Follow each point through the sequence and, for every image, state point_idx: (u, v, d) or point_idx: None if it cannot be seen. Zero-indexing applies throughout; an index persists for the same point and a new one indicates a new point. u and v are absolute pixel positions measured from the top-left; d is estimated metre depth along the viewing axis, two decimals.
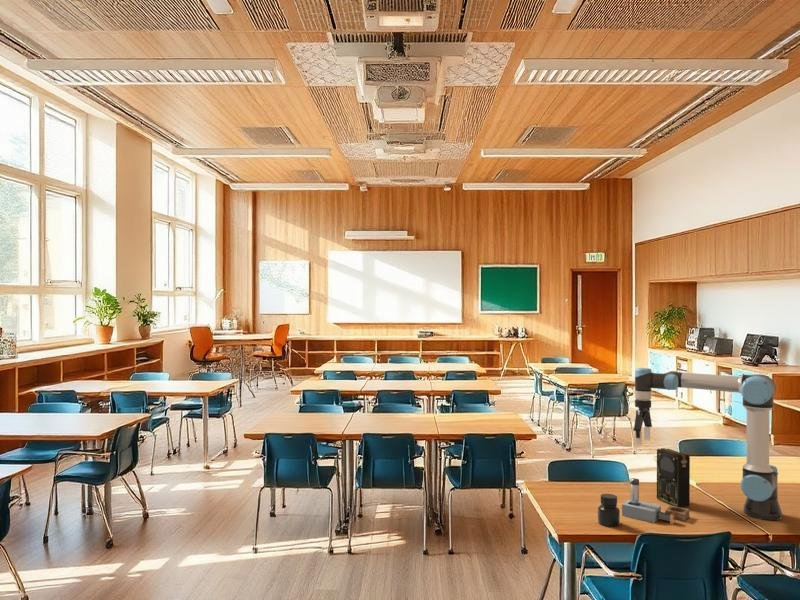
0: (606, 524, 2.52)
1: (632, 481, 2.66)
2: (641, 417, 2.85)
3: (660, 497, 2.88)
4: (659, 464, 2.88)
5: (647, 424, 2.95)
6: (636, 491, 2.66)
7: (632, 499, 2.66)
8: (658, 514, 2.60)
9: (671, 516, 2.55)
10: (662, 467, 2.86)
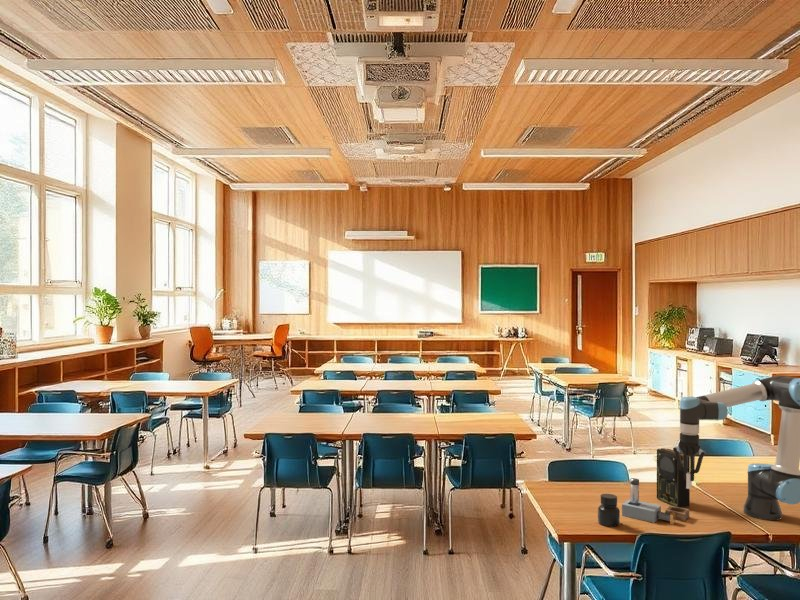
0: (606, 524, 2.52)
1: (632, 481, 2.66)
2: (678, 454, 2.55)
3: (660, 497, 2.88)
4: (659, 464, 2.88)
5: None
6: (636, 491, 2.66)
7: (632, 499, 2.66)
8: (658, 514, 2.60)
9: (671, 516, 2.55)
10: (662, 467, 2.86)
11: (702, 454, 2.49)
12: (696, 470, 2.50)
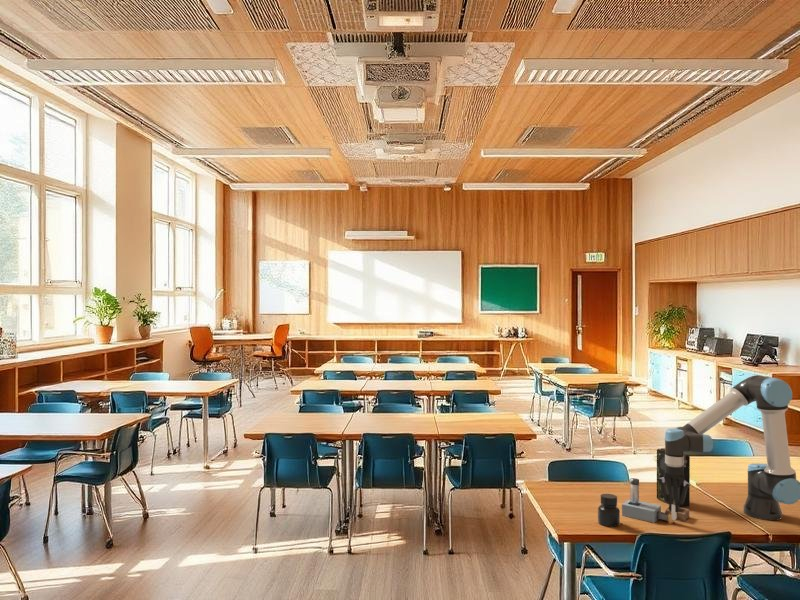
0: (606, 524, 2.52)
1: (632, 481, 2.66)
2: (663, 485, 2.58)
3: (660, 497, 2.88)
4: (659, 464, 2.88)
5: None
6: (636, 491, 2.66)
7: (632, 499, 2.66)
8: None
9: (669, 516, 2.56)
10: (662, 467, 2.86)
11: (687, 486, 2.52)
12: (681, 501, 2.54)
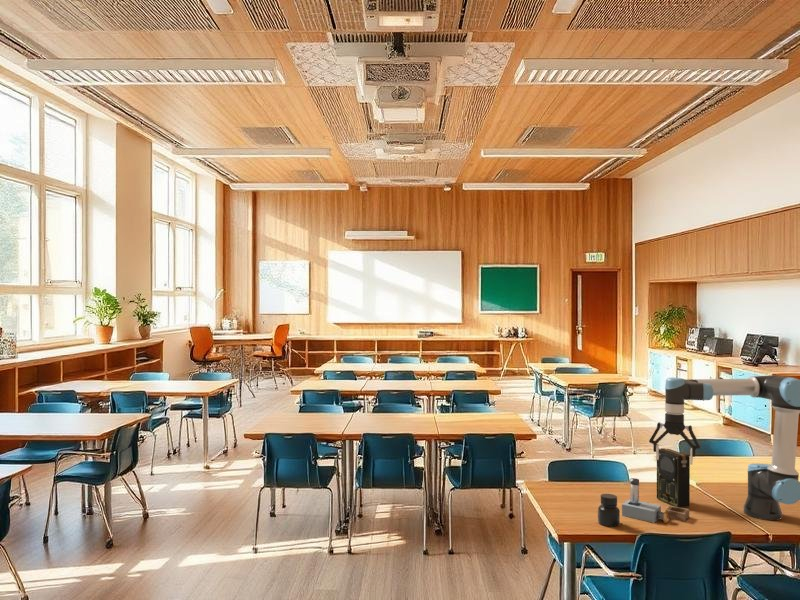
0: (606, 524, 2.52)
1: (632, 481, 2.66)
2: (658, 430, 2.59)
3: (660, 497, 2.88)
4: (659, 464, 2.88)
5: (690, 445, 2.54)
6: (636, 491, 2.66)
7: (632, 499, 2.66)
8: None
9: (664, 515, 2.57)
10: (662, 467, 2.86)
11: (690, 428, 2.53)
12: (697, 445, 2.51)
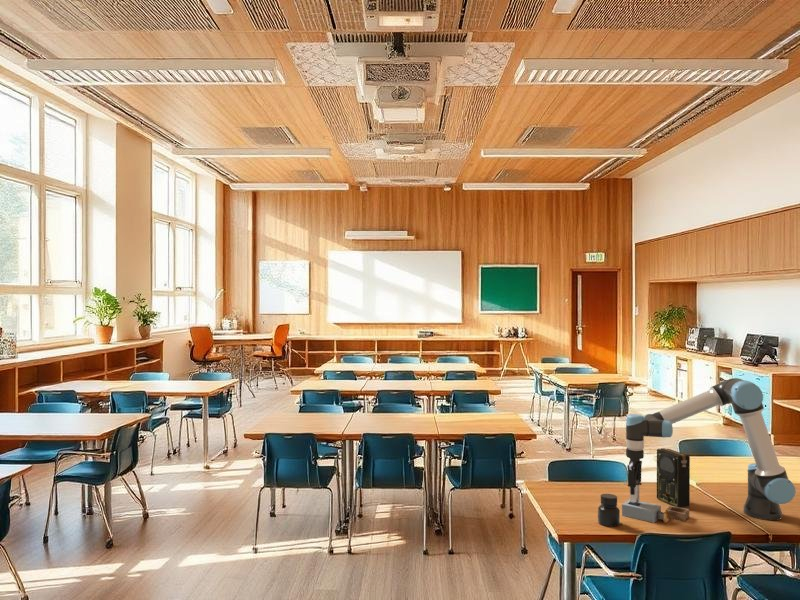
0: (606, 524, 2.52)
1: None
2: (634, 471, 2.63)
3: (660, 497, 2.88)
4: (659, 464, 2.88)
5: None
6: (636, 491, 2.66)
7: None
8: None
9: (664, 515, 2.57)
10: (662, 467, 2.86)
11: (641, 463, 2.71)
12: (640, 479, 2.70)
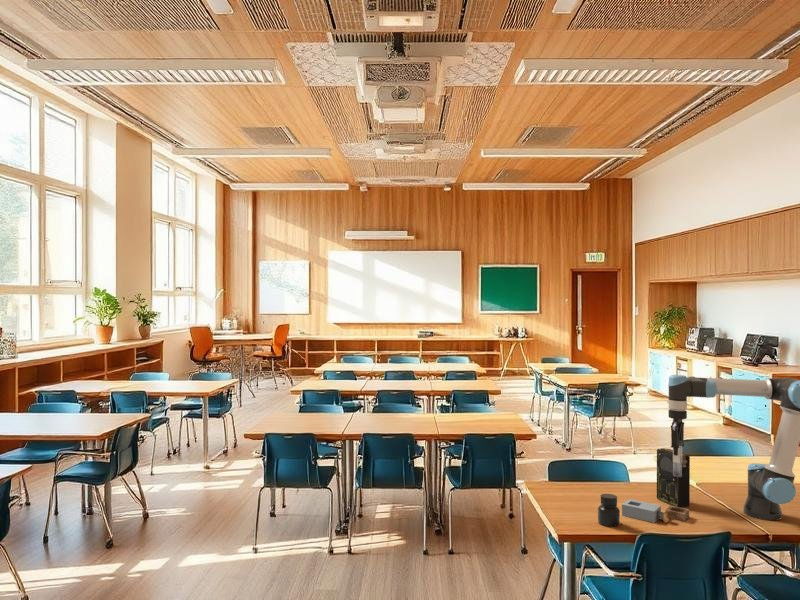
0: (606, 524, 2.52)
1: None
2: (677, 432, 2.60)
3: (660, 497, 2.88)
4: (659, 464, 2.88)
5: None
6: None
7: None
8: None
9: (664, 515, 2.57)
10: (662, 467, 2.86)
11: (683, 424, 2.68)
12: (683, 441, 2.68)
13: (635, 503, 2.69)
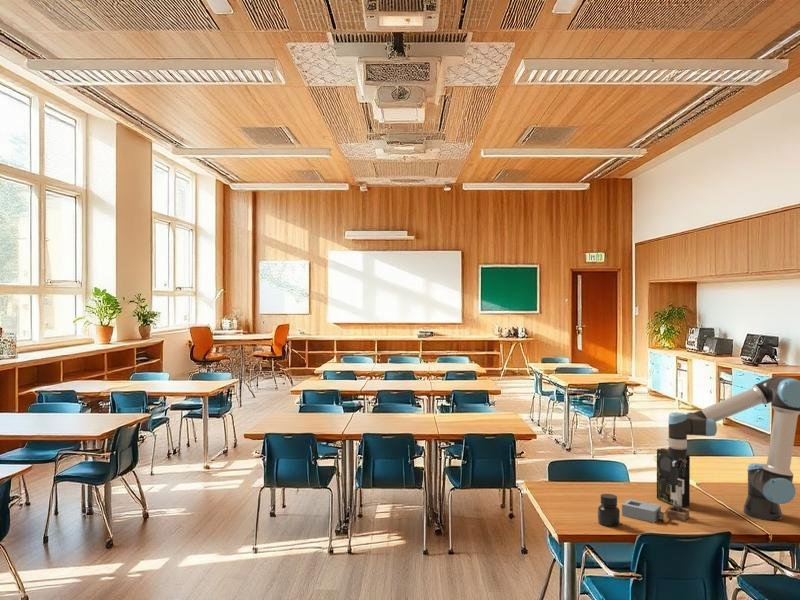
0: (606, 524, 2.52)
1: None
2: (676, 469, 2.59)
3: (660, 497, 2.88)
4: (659, 464, 2.88)
5: (681, 476, 2.68)
6: (679, 493, 2.62)
7: (675, 501, 2.63)
8: None
9: (664, 515, 2.57)
10: (662, 467, 2.86)
11: None
12: None
13: (635, 503, 2.69)
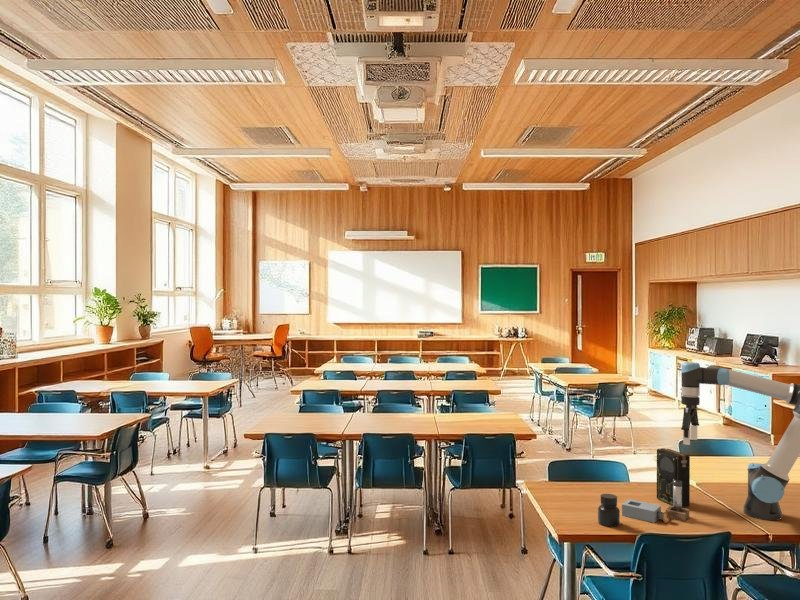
0: (606, 524, 2.52)
1: (675, 483, 2.63)
2: (689, 415, 2.65)
3: (660, 497, 2.88)
4: (659, 464, 2.88)
5: (694, 423, 2.75)
6: (679, 493, 2.62)
7: (675, 501, 2.63)
8: None
9: (664, 515, 2.57)
10: (662, 467, 2.86)
11: (696, 407, 2.75)
12: None
13: (635, 503, 2.69)
